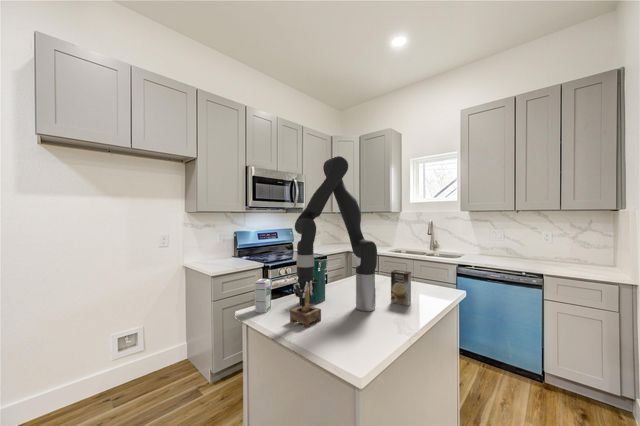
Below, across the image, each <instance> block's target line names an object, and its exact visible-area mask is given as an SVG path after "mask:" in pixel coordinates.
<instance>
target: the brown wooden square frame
mask: <svg viewBox="0 0 640 426" xmlns="http://www.w3.org/2000/svg"><path fill="white" fill-rule="evenodd" d="M321 321H322V309H321V308H318V307H315V306H311V305H309V312H308V313H303V312H302V306H300V305H299V306H298V307H295V308H293V309H289V322H290V323H291V324H295V323H296V322H299V323H302V327H303V328H305V329H307V328H309V327H310V323H312V322H317V323H319V322H321Z"/></svg>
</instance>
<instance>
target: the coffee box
mask: <svg viewBox="0 0 640 426" xmlns="http://www.w3.org/2000/svg"><path fill="white" fill-rule="evenodd" d="M411 290H412V272H411V271H407V270H401V269H393V270H392V271H391V272H390V303H393V304H396V305H397V304H399V305H403V306H409V305H410V304H411V303H412V299H411V298H412V291H411Z"/></svg>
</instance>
